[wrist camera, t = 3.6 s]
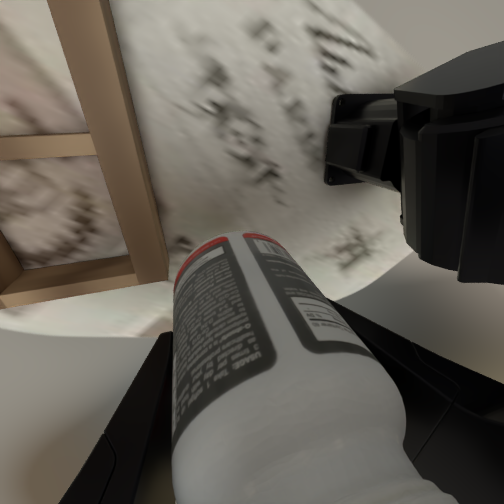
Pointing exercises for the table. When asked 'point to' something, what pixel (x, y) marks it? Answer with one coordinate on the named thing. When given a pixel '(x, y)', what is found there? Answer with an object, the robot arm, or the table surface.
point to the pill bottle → (278, 389)
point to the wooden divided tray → (110, 158)
